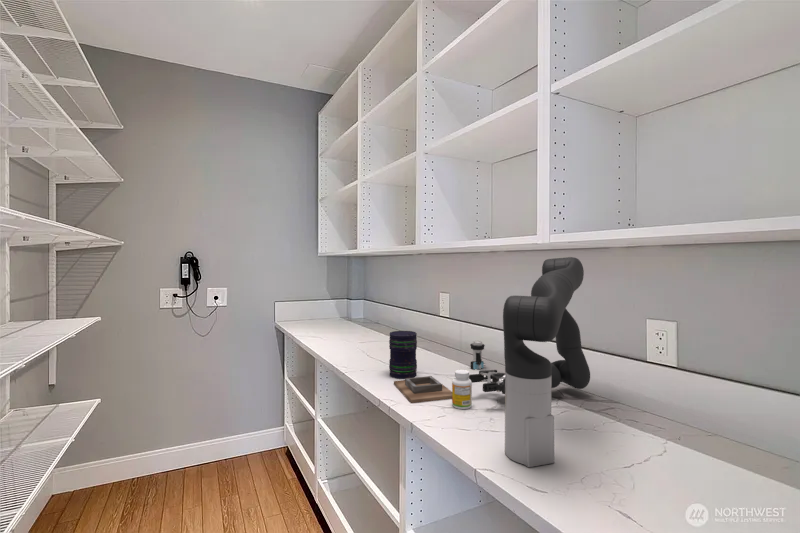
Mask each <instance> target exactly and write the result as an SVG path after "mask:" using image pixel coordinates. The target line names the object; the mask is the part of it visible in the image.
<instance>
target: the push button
mask: <svg viewBox="0 0 800 533" xmlns="http://www.w3.org/2000/svg"><path fill="white" fill-rule="evenodd" d="M485 347H486V344H484V343H483V341H481V340H480V341H479V340H475V341H472V343H470V350H472V361H470V369H471V370H475V369H477V370H481V368H482V369H484V368H485V367H486V365H485V364H487V363H486V362H484V360H483V358H482V356H483V355H482V354H483V350H485Z"/></svg>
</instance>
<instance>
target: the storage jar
mask: <svg viewBox="0 0 800 533" xmlns="http://www.w3.org/2000/svg"><path fill="white" fill-rule="evenodd" d="M417 335H418V334H417V332H416V331H412V330H395V331H391V332H389V341H388V343H389V350H390V352H389V354H390V355H389V361H388V362H389V364H388V366H389V377H390V378H392V379H397V380H405V378H415V377H418V376H417V369H418V360H417V349H418V340H417Z"/></svg>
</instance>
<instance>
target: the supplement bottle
mask: <svg viewBox="0 0 800 533" xmlns="http://www.w3.org/2000/svg"><path fill="white" fill-rule="evenodd" d="M469 375H470V370H466V369H456V370H454V378H453V379H452V380H451V381H452V383H451V386H452V388H451V391H452V399H451V400H452V401H451V404H452V407H453V408H455V409H457V410H458V409H459V410H468V409H471V408H472V406H473V405H472V404H473V403H472V402H473V401H472V400H473V397H472V396H473V394H472V393H473V391H472V390H473V389H472V388H473V387H472V386H473V383H472V382H471V380H470V379H469Z"/></svg>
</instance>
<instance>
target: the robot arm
mask: <svg viewBox="0 0 800 533" xmlns="http://www.w3.org/2000/svg"><path fill="white" fill-rule="evenodd" d="M582 263H583V262H581V261H580V259H579V258H577V257H573V256H568V257H566V256H565V257H557V258H556V257H555V258H548V259H545V260H544V261H543V262H542V267H541V276H540V277H539V278H538V279H536V281H535V282H534V283H533V286H532V287H531V291H530V295H529V296H528V295H510V296H508V297H507V298H506V300H504V301H505V302H504V305H503V310H502V326H503V327H502V328H503V348H504V350H503V356H504V372H503V371H498V369H488V370H479V371H478V373H473V374H472V373H471V374H469V379H470V380H471V382H472V384H473V383H483V384H482V391H483V392H484V393H490V392H496V393H501V394H502V395H504V454H505V455H506V457H507V458H508V459H510V460H512V461H513V462H515V463H518V464H522V465H524V466H526V467H527V468H532V467H537V466H544V465H548V464H549V465H550V464H554V463H555V416H554V415H553V414H552V389H554V388H557V387H558V386H559V385H560V383H564V384H566V385H567V386H570V387H572V388H573V389H577V390H582V389H583V390H584V389H585V388H587V386H588V385H589V383H590V380H591V370H590V367H589V364H588V361H587V359H586V356H585V354H584V351H583V348H582V339H581V332H580V331H581V330H580V326H579V325H578V323H577V321H576V319H575V318H574V317H573V316H572V314H571V313H570V312H569V311H568V309H567V306H568V305H569V304H570V302H571V299H572V297H573V294H574V293H575V292H576V291H577V290H578V289H579V288H580V287H581V286H582V284H583V280H584V277H585V276H584V274H585V272H584V271H585V269H584V267H583V264H582ZM554 339H555V345H556V346H555V347H556V352H557V353H558V354H559V355H560V356H561V358H563V359H559V360H555V361H553V362H551V361H550V359H548V358H547V357H544V356H543V355H541V354H539V353H537V352H535V351H533V350H532V349H530V348H529V347H528V346H527V345H526V343H525V342H524V341H528V342H536V343H537V342H539V343H549V342H551V341H553V340H554Z"/></svg>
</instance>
